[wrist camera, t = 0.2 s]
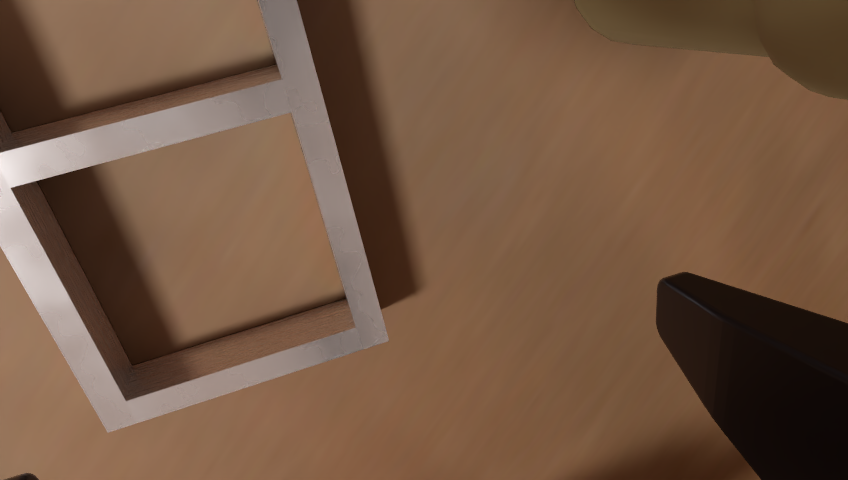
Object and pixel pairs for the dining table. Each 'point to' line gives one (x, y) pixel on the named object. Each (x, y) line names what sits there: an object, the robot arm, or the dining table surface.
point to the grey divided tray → (157, 127)
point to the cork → (739, 32)
